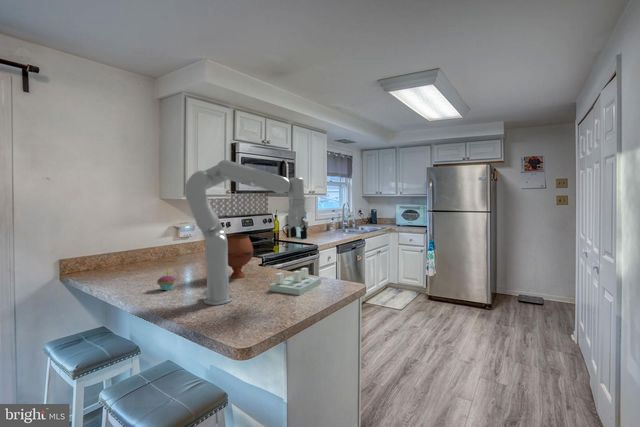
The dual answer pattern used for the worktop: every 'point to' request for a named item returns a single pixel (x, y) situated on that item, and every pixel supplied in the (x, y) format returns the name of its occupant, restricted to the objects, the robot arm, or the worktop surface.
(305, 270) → the switch
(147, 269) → the worktop surface
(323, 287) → the worktop surface
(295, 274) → the switch
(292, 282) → the switch box
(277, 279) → the switch
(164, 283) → the cupcake
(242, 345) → the worktop surface
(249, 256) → the goblet
